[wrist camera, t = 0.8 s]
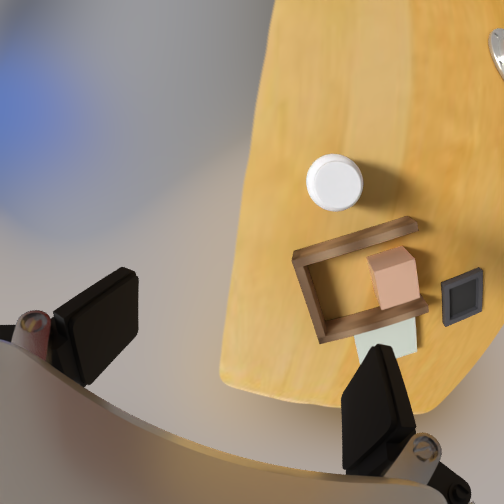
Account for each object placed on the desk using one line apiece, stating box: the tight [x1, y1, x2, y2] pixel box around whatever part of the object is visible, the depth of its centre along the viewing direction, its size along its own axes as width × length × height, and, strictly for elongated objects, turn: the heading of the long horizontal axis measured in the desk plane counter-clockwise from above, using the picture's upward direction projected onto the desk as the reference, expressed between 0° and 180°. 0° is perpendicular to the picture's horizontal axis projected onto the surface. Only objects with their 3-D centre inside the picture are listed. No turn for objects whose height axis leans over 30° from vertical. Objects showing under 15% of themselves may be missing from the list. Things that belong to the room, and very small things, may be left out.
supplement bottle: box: [306, 154, 363, 211], centre depth 25 cm, size 5×5×10 cm
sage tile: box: [354, 317, 417, 365], centre depth 34 cm, size 9×8×2 cm
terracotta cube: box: [366, 246, 420, 310], centre depth 29 cm, size 5×5×5 cm
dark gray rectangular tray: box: [441, 267, 483, 327], centre depth 29 cm, size 7×7×1 cm
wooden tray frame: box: [292, 216, 429, 344], centre depth 31 cm, size 15×12×4 cm
